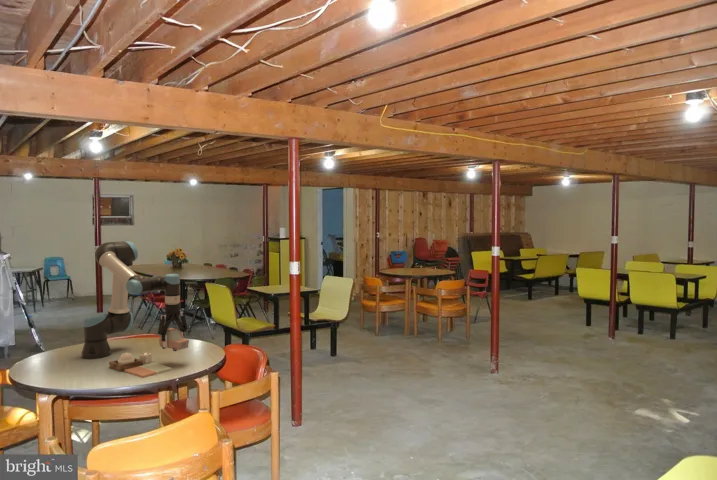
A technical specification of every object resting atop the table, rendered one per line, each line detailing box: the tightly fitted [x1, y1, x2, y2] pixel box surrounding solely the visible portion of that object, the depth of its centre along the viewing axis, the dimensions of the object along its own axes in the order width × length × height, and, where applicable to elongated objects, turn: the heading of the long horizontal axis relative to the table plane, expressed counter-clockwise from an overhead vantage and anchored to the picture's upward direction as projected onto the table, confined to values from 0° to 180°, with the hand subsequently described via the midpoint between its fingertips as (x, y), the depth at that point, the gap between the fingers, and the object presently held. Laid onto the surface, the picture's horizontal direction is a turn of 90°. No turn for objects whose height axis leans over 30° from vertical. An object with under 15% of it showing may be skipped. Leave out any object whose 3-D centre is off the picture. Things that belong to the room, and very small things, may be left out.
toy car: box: [158, 327, 190, 352], centre depth 288 cm, size 9×15×10 cm, turn 60°
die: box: [138, 352, 153, 365], centre depth 293 cm, size 4×4×5 cm
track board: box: [124, 362, 173, 378], centre depth 277 cm, size 17×16×1 cm
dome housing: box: [108, 357, 144, 372], centre depth 285 cm, size 12×12×3 cm
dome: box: [117, 352, 135, 365], centre depth 284 cm, size 8×8×7 cm
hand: (173, 345), depth 289 cm, fingers closed on toy car, 9 cm apart
